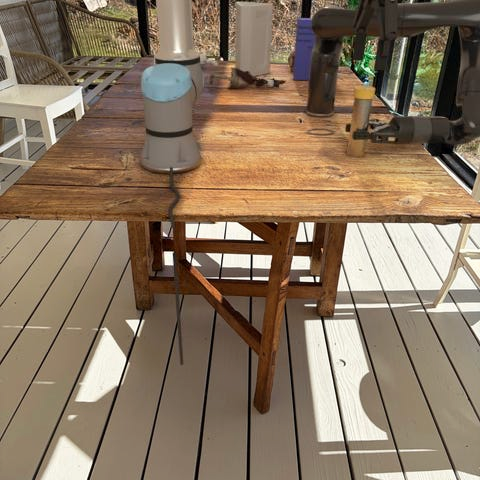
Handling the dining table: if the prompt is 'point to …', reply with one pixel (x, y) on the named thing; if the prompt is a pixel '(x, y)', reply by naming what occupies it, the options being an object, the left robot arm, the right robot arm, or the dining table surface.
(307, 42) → the cereal box
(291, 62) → the anatomical model
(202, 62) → the toy
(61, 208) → the dining table surface
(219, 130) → the dining table surface
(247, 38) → the tall white pillar
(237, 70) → the figurine
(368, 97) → the lid
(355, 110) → the tan cylinder
